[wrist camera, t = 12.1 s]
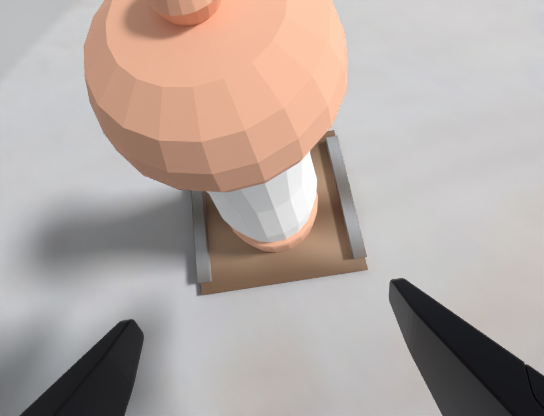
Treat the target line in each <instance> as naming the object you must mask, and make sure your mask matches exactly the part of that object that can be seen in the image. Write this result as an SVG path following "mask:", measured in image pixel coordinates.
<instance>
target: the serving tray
mask: <svg viewBox="0 0 544 416" xmlns="http://www.w3.org/2000/svg"><path fill="white" fill-rule="evenodd" d="M310 156H311V159H312V163H313V167H314V171H315V174H316V178H317V188H316V192H317V195H318V205H317V214H316V217H315V221H314V223H313V226H312V228H311V231H310V233H309V234H308V235H307V236H306V238H305V239H304V240H303V241H302V242H301V243H300V244H298V245H296V246H295V247H293V248H291V249H289V250H285V251H281V252H266V251H262V250H260V249H257V248H255V247H253V246H251V245H249V244H248V243H246V242H244V241H243V240H242V239H241V238H240V237H239V236H238V235H237V234H236V233H234V232H233V230H232V228H231V226H230V225H229V224H228V223H227V222H226V221H225V220H224V219H223V218H222V216H221V215H220V213H219V211H218V209H217V207H216V206H215V204H214V202H213V200H212V198H211V196H210V194H209V193H207V192H206V191H193V190H191V197H192V211H193V226H194V240H195V255H196V269H197V283H201V295H207V294H213V293H220V292H226V291H233V290H239V289H246V288H252V287H259V286H265V285H272V284H278V283H285V282H291V281H298V280H304V279H311V278H317V277H324V276H330V275H336V274H343V273H349V272H356V271H362V270H368V268H367V264H366V260H365V257H367V255H366V251H365V247H364V243H363V239H362V235H361V231H360V226H359V222H358V218H357V214H356V210H355V206H354V202H353V198H352V194H351V190H350V186H349V182H348V178H347V173H346V169H345V165H344V161H343V157H342V153H341V149H340V145H339V141H338V137H337V136H335V133H334V130H333V131H327V132H326V133H325V134H324V136H323V137H322V138H321V139H320V140H319V141H318V142H317V143H316V145H315V146H314V147H313V148H312V149H311V150H310Z"/></svg>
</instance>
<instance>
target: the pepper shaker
mask: <svg viewBox="0 0 544 416" xmlns="http://www.w3.org/2000/svg"><path fill="white" fill-rule="evenodd" d="M84 68H85V80H86V85H87V90H88V95H89V100H90V104H91V106H92V108H93V110H94V113H95V115H96V117H97V119H98V121H99V124H100V126H101V128H102V130H103V132H104V134H105V135H106V137H107V138H108V139H109V141H110V142H111V143H112V145H113V146H114V147H115V149H116V150H117V151H118V152H119V153H120V154H121V155H122V156H123V157H124V158H125V159H126V160H127V161H128V162H130V163H131V164H132V165H133V166H134V167H135V168H136V169H137V170H138V171H139V172H140V173H141V174H142V175H144V176H146V177H149V178H151V179H154V180H156V181H159V182H161V183H164V184H166V185H169V186H171V187H174V188H176V189H179V190H193V191H206V192H207V193H209V194H210V196H211V198H212V200H213V202H214V204H215V206H216V207H217V209H218V211H219V213H220V215H221V216H222V218H223V219H224V220H225V221H226V222H227V223H228V224H229V225H230V226H231V228H232V230H233V232H234V233H236V234H237V235H238V236H239V237H240V238H241V239H242V240H243V241H244V242H246V243H248V244H249V245H251V246H253V247H255V248H257V249H260V250H262V251H266V252H281V251H285V250H289V249H291V248H293V247H295V246H296V245H298V244H300V243H301V242H302V241H303V240H304V239H305V238H306V236H307V235H308V234H309V233H310V231H311V228H312V226H313V223H314V221H315V217H316V214H317V205H318V195H317V192H316V188H317V178H316V174H315V171H314V167H313V163H312V159H311V156H310V150H311V149H312V148H313V147H314V146H315V145H316V143H317V142H318V141H319V140H320V139H321V138H322V137H323V136H324V134H325V133H326V132H327V131H328V130H329V129H330V128H331V127H332V124H333V122H334V119H335V117H336V115H337V112H338V110H339V107H340V105H341V103H342V100H343V98H344V95H345V93H346V87H347V49H346V40H345V32H344V30H343V27H342V25H341V22H340V20H339V17H338V15H337V12H336V9H335V7H334V4H333V2H332V0H105V1H104V2H103V4H102V5H101V6H100V8H99V9H98V11H97V12H96V14H95V15H94V17H93V20H92V23H91V26H90V29H89V32H88V35H87V38H86V41H85V44H84Z"/></svg>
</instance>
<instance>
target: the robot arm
mask: <svg viewBox="0 0 544 416" xmlns="http://www.w3.org/2000/svg"><path fill="white" fill-rule="evenodd" d="M389 301H390V304H391V306H392V309H393V312H394V314H395V317H396V319H397V322H398V324H399V327H400V329H401V332H402V334H403V337H404V340H405V342H406V344H407V347H408V349H409V351H410V353H411V355H412V357H413V359H414V361H415V363H416V365H417V367H418V369H419V371H420V373H421V375H422V377H423V379H424V381H425V383H426V384H427V386H428V388H429V390H430V392H431V394H432V396H433V398H434V400H435V402H436V404H437V406H438V408H439V410H440V412H441V413H442V415H443V416H544V375H542V374H541V373H539V372H538V371H536V370H535V369H533V368H532V367H531V366H529V365H527V364H526V365H525V363H524V362H523V361H522V360H520V359H519V358H517V357H516V356H515V355H513V354H512V353H510V352H509V351H507V350H506V349H505V348H503V347H502V346H500V345H499V344H497V343H496V342H495V341H493V340H492V339H490V338H489V337H487V336H486V335H484V334H483V333H482V332H480V331H479V330H477V329H476V328H474V327H473V326H472V325H470V324H469V323H467V322H466V321H464V320H463V319H462V318H460V317H459V316H457V315H456V314H454V313H453V312H451V311H450V310H449V309H447V308H446V307H444V306H443V305H441V304H440V303H439V302H437V301H436V300H434V299H433V298H431V297H430V296H429V295H427V294H426V293H424V292H423V291H421V290H420V289H418V288H417V287H416V286H414V285H413V284H411V283H410V282H408V281H407V280H405V279H403V278H399V279H392V280H391V281H390V286H389ZM143 340H144V335H143V332H142V331H141V329H140V328H139V326H138V325H137V323H136V322H135V321H134V320H133V319H129V320H123V321H120V322H119V323H118V324H117V325H116V326H115V327H113V328H112V329H111V330H110V331H109V332H108V333H107V334H106V335H105V336H104V337H103V338H102V339H101V340H100V341H99V342H97V343H96V344H95V345H94V346H93V347H92V348H91V349H90V350H89V351H88V352H87V353H86V354H85V355H84V356H83V357H82V358H80V359H79V360H78V361H77V362H76V363H75V364H74V365H73V366H72V367H71V368H70V369H69V370H68V371H67V372H66V373H65V374H63V375H62V376H61V377H60V378H59V379H58V380H57V381H56V382H55V383H54V384H53V385H52V386H51V387H50V388H49V389H48V390H46V391H45V392H44V393H43V394H42V395H41V396H40V397H39V398H38V399H37V400H36V401H35V402H34V403H33V404H32V405H30V406H29V407H28V408H27V409H26V410H25V411H24V412H23V413H22V414H21V415H20V416H124V415H125V412H126V409H127V405H128V402H129V399H130V396H131V393H132V389H133V386H134V382H135V377H136V373H137V368H138V363H139V359H140V354H141V350H142V345H143Z"/></svg>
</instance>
